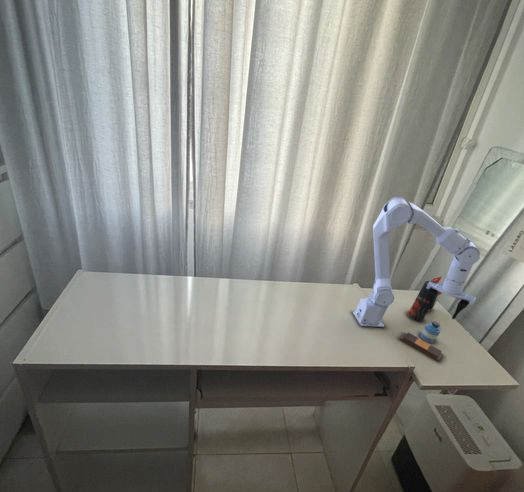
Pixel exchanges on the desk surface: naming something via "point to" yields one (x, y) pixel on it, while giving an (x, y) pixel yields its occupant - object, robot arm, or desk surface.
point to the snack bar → (422, 346)
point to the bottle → (430, 332)
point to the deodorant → (420, 304)
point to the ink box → (439, 292)
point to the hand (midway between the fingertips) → (442, 313)
